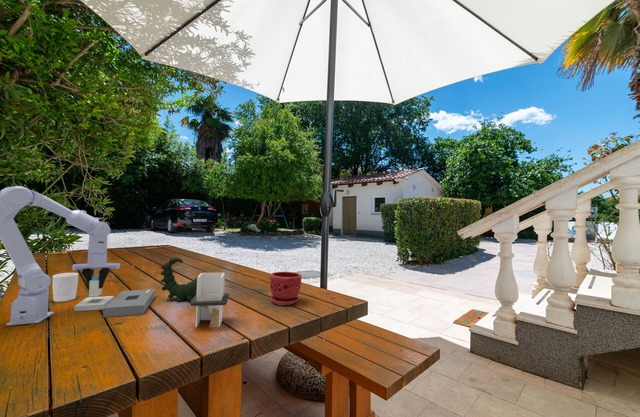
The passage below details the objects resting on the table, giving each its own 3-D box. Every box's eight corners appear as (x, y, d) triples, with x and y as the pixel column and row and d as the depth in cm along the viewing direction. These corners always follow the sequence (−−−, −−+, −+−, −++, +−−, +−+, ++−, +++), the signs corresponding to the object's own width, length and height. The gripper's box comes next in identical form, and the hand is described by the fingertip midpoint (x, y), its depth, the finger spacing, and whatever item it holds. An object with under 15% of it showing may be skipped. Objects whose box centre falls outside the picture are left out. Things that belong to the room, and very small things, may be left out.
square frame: (104, 309, 105) (104, 304, 105) (74, 311, 102) (74, 306, 102) (113, 300, 115) (114, 295, 115) (86, 302, 112) (86, 297, 112)
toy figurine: (158, 307, 114) (220, 303, 114) (155, 260, 114) (217, 256, 115) (170, 299, 124) (227, 296, 124) (168, 256, 124) (225, 253, 124)
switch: (143, 314, 101) (143, 304, 102) (103, 317, 97) (103, 307, 97) (155, 296, 122) (155, 288, 122) (122, 298, 118) (122, 290, 118)
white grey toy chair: (155, 342, 81) (157, 284, 81) (179, 312, 104) (181, 268, 105) (245, 337, 86) (247, 283, 86) (249, 310, 110) (250, 267, 110)
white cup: (65, 302, 111) (66, 277, 111) (45, 302, 111) (46, 276, 111) (82, 296, 119) (83, 273, 119) (64, 296, 119) (65, 272, 119)
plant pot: (295, 308, 112) (296, 278, 113) (264, 305, 115) (265, 275, 115) (304, 299, 125) (304, 271, 125) (275, 296, 128) (276, 269, 128)
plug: (97, 296, 107) (98, 276, 107) (88, 296, 106) (89, 277, 106) (101, 293, 111) (102, 274, 112) (93, 293, 110) (94, 274, 111)
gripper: (122, 251, 115) (121, 284, 115) (78, 251, 110) (77, 286, 110) (117, 253, 109) (115, 288, 108) (70, 254, 104) (68, 291, 103)
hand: (95, 288), depth 109 cm, fingers closed on plug, 3 cm apart
